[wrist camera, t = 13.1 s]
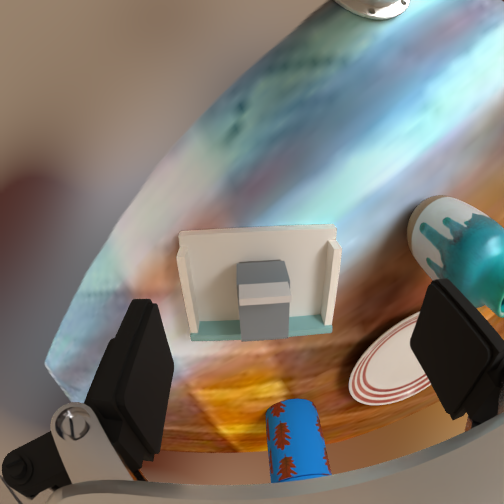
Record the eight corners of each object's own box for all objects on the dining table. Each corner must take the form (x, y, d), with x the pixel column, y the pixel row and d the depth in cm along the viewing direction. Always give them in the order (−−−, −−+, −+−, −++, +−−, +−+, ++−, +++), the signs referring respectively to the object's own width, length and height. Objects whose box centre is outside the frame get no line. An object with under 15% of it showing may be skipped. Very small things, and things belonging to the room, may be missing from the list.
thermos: (322, 413, 56) (345, 514, 33) (278, 429, 58) (290, 527, 35) (305, 391, 51) (328, 510, 29) (255, 409, 53) (263, 522, 31)
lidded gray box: (236, 255, 36) (236, 299, 28) (281, 252, 36) (294, 295, 28) (240, 308, 39) (242, 356, 31) (281, 305, 40) (291, 353, 32)
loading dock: (180, 230, 36) (173, 246, 32) (333, 223, 36) (344, 238, 32) (194, 320, 42) (191, 341, 38) (324, 312, 42) (331, 332, 38)
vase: (382, 218, 36) (471, 302, 19) (436, 171, 33) (541, 225, 16) (412, 268, 40) (484, 353, 23) (460, 225, 37) (543, 291, 20)
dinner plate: (475, 334, 49) (483, 343, 46) (384, 406, 58) (388, 417, 55) (437, 265, 40) (448, 276, 37) (315, 368, 49) (318, 383, 46)
